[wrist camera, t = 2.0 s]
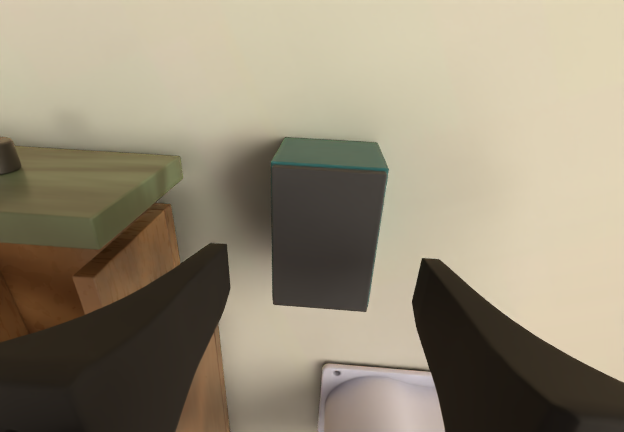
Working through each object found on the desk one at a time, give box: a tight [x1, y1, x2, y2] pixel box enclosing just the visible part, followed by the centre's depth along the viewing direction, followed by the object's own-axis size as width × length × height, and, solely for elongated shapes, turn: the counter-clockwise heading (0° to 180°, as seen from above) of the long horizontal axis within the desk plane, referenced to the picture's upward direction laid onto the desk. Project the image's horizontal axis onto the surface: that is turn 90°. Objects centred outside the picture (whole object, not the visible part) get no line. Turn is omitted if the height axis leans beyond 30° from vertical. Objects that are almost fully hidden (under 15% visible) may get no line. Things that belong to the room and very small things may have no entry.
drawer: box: [0, 137, 183, 342], centre depth 16 cm, size 15×12×7 cm
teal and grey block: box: [271, 137, 389, 312], centre depth 16 cm, size 7×5×4 cm, turn 178°
